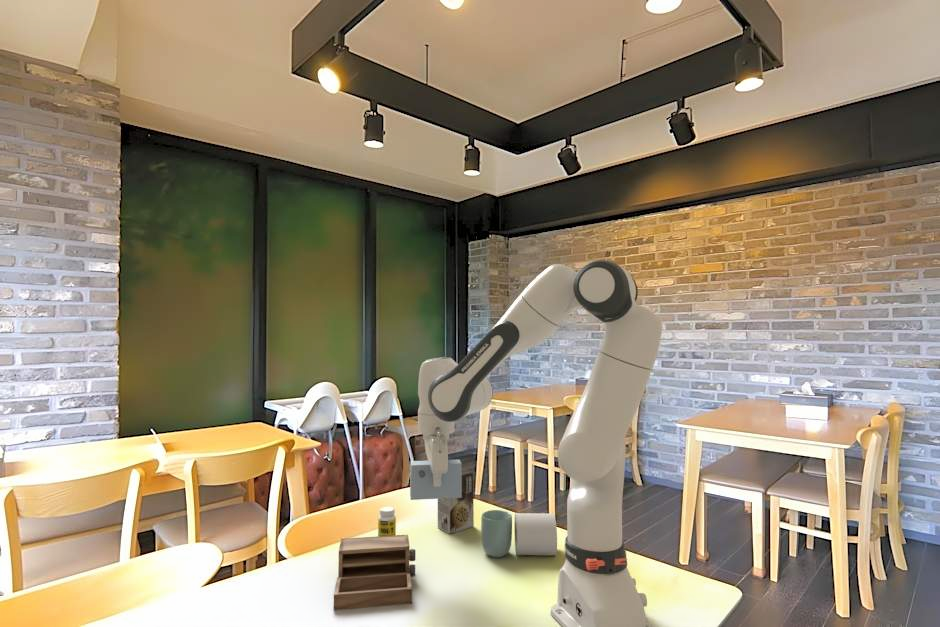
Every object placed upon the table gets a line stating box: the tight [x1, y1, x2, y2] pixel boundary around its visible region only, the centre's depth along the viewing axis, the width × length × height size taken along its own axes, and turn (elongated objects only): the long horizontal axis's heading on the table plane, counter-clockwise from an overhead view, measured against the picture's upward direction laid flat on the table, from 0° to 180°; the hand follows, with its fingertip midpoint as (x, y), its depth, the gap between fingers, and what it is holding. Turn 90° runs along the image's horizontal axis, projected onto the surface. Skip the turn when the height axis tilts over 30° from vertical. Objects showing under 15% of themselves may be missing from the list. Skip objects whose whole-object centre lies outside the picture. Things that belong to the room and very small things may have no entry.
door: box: [409, 459, 463, 501], centre depth 122 cm, size 5×12×8 cm, turn 99°
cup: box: [480, 509, 513, 558], centre depth 132 cm, size 8×8×10 cm
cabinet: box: [333, 534, 416, 610], centre depth 115 cm, size 18×17×8 cm
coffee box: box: [437, 467, 475, 535], centre depth 151 cm, size 9×6×16 cm
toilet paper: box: [513, 512, 558, 556], centre depth 133 cm, size 10×10×10 cm
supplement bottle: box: [377, 506, 397, 537], centre depth 141 cm, size 5×5×8 cm
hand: (435, 482), depth 122 cm, fingers closed on door, 4 cm apart
